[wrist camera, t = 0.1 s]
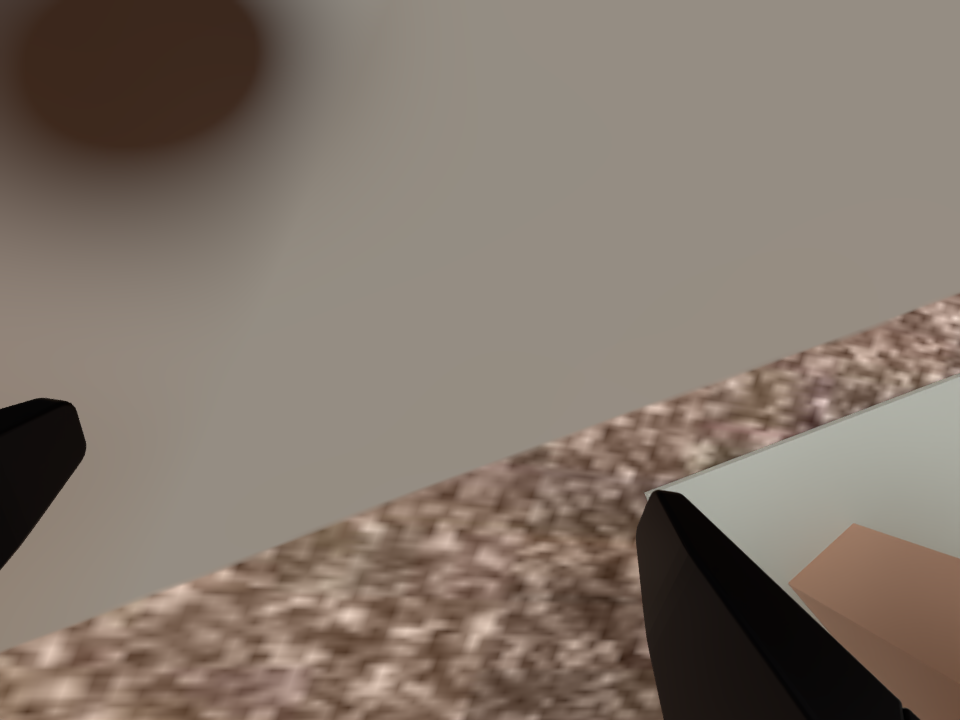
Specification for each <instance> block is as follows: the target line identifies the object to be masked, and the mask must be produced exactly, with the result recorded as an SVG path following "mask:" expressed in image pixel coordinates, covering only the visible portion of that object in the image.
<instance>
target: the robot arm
mask: <svg viewBox="0 0 960 720" xmlns="http://www.w3.org/2000/svg"><path fill="white" fill-rule="evenodd" d="M85 451H86V441H85V438H84V434H83V431H82V427H81V424H80V421H79V418H78V414H77V411H76V408H75V407H74V406H73V405H72V404H71V403H69V402H67V401H63V400H55V399H49V398H37V399H33V400H30V401H26V402H23V403H19V404H16V405H12V406H9V407H6V408H2V409H0V570H1V569H2V567H3V566H4V565H5V564H6V563H7V562H8V560H9V559H10V558H11V557H12V556H13V554H14V553H15V552H16V551H17V550H18V548H19V547H20V546H21V544H22V543H23V542H24V540H25V539H26V538H27V536H28V535H29V534H30V532H31V531H32V529H33V528H34V527H35V525H36V524H37V523H38V521H39V520H40V518H41V517H42V516H43V514H44V513H45V511H46V510H47V509H48V507H49V506H50V504H51V503H52V502H53V500H54V499H55V497H56V496H57V495H58V493H59V492H60V490H61V489H62V488H63V486H64V485H65V483H66V482H67V481H68V479H69V478H70V476H71V475H72V474H73V472H74V471H75V469H76V468H77V466H78V465H79V464H80V462H81V461H82V459H83V457H84V455H85ZM636 546H637V556H638V565H639V574H640V584H641V593H642V603H643V612H644V621H645V629H646V637H647V642H648V647H649V653H650V658H651V662H652V667H653V671H654V676H655V681H656V685H657V690H658V695H659V699H660V704H661V709H662V713H663V718H664V720H920V719H919V718H918V717H917V716H916V715H915V714H914V713H913V712H912V711H911V710H910V709H908V708H905V707H902V703H901V701H900V700H899V699H898V698H897V697H896V696H895V695H894V694H893V693H892V692H891V691H890V690H888V689H887V688H886V687H885V686H884V685H883V684H882V683H881V682H880V681H879V680H878V679H877V678H876V677H875V676H874V675H873V674H872V673H871V672H870V671H868V670H867V669H866V668H865V667H864V666H863V665H862V664H861V663H860V662H859V661H858V660H857V659H856V658H855V657H854V656H853V655H852V654H851V653H850V652H848V651H847V650H846V649H845V648H844V647H843V646H842V645H841V644H840V643H839V642H838V641H837V640H836V639H835V638H834V637H833V636H832V635H831V634H829V633H828V632H827V631H826V630H825V629H824V628H823V627H822V626H821V625H820V624H819V623H818V622H817V621H816V620H815V619H814V618H813V617H812V616H811V615H809V614H808V613H807V612H806V611H805V610H804V609H803V608H802V607H801V606H800V605H799V604H798V603H797V602H796V601H795V600H794V599H793V598H792V597H790V596H789V595H788V594H787V593H786V592H785V591H784V590H783V589H782V588H781V587H780V586H779V585H778V584H777V583H776V582H775V581H774V580H773V579H772V578H770V577H769V576H768V575H767V574H766V573H765V572H764V571H763V570H762V569H761V568H760V567H759V566H758V565H757V564H756V563H755V562H754V561H753V560H751V559H750V558H749V557H748V556H747V555H746V554H745V553H744V552H743V551H742V550H741V549H740V548H739V547H738V546H737V545H736V544H735V543H734V542H733V541H731V540H730V539H729V538H728V537H727V536H726V535H725V534H724V533H723V532H722V531H721V530H720V529H719V528H718V527H717V526H716V525H715V524H714V523H712V522H711V521H710V520H709V519H708V518H707V517H706V516H705V515H704V514H703V513H702V512H701V511H700V510H699V509H698V508H697V507H696V506H695V505H694V504H692V503H691V502H690V501H689V500H688V499H687V498H686V497H685V496H684V495H683V494H681V493H678V492H672V491H666V490H655V491H653V492H652V493H651V495H650V497H649V499H648V502H647V504H646V507H645V509H644V512H643V514H642V516H641V519H640V521H639V524H638V527H637V531H636Z"/></svg>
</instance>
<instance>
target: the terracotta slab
mask: <svg viewBox="0 0 960 720" xmlns="http://www.w3.org/2000/svg"><path fill="white" fill-rule="evenodd" d="M788 584H789V585H790V587H791V588H792V589H793V590H794V591H795V592H796V594H797V595H798V596H799V597H800V598H801V600H802V601H803V602H804V603H805V604H806V606H807V607H808V608H809V609H810V610H811V611H812V613H813V614H814V615H815V616H816V617H817V619H818V620H819V621H820V622H821V623H822V625H823V626H824V627H825V628H826V629H827V630H828V632H829V633H830V634H831V635H832V636H833V637H834V638H835V639H836V640H837V641H838V642H839V643H840V644H841V645H842V646H843V647H844V648H845V649H846V650H847V651H848V652H850V653H851V654H852V655H853V656H854V657H855V658H856V659H857V660H858V661H859V662H860V663H861V664H862V665H863V666H864V667H865V668H866V669H867V670H868V671H870V672H871V673H872V674H873V675H874V676H875V677H876V678H877V679H878V680H879V681H880V682H881V683H882V684H883V685H884V686H885V687H886V688H887V689H888V690H890V691H891V692H892V693H893V694H894V695H895V696H896V697H897V698H898V699H899V700H900V701H901V703H902V707H905V708H908V709H910V710H911V711H912V712H913V713H914V714H915V715H916V716H917V717H918V718H919V719H920V720H960V559H959V558H956V557H953V556H950V555H947V554H944V553H941V552H938V551H935V550H932V549H929V548H926V547H923V546H920V545H918V544H915V543H912V542H909V541H906V540H903V539H900V538H897V537H894V536H891V535H888V534H885V533H882V532H879V531H876V530H873V529H870V528H867V527H864V526H861V525H858V524H855V523H853V524H852V525H851V526H850V527H849V528H848V529H846V530H845V531H844V532H843V533H842V534H841V535H840V536H839V537H838V538H837V539H836V540H834V541H833V542H832V543H831V544H830V545H829V546H828V547H827V548H826V549H825V550H824V551H822V552H821V553H820V554H819V555H818V556H817V557H816V558H815V559H814V560H813V561H812V562H810V563H809V564H808V565H807V566H806V567H805V568H804V569H803V570H802V571H801V572H800V573H798V574H797V575H796V576H795V577H794V578H793V579H792V580H791V581H790V582H789V583H788Z"/></svg>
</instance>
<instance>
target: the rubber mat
mask: <svg viewBox="0 0 960 720" xmlns="http://www.w3.org/2000/svg"><path fill="white" fill-rule="evenodd" d="M655 490H666V491H672V492H678V493H681V494H683V495H684V496H685V497H686V498H687V499H688V500H689V501H690V502H691V503H692V504H694V505H695V506H696V507H697V508H698V509H699V510H700V511H701V512H702V513H703V514H704V515H705V516H706V517H707V518H708V519H709V520H710V521H711V522H712V523H714V524H715V525H716V526H717V527H718V528H719V529H720V530H721V531H722V532H723V533H724V534H725V535H726V536H727V537H728V538H729V539H730V540H731V541H733V542H734V543H735V544H736V545H737V546H738V547H739V548H740V549H741V550H742V551H743V552H744V553H745V554H746V555H747V556H748V557H749V558H750V559H751V560H753V561H754V562H755V563H756V564H757V565H758V566H759V567H760V568H761V569H762V570H763V571H764V572H765V573H766V574H767V575H768V576H769V577H770V578H772V579H773V580H774V581H775V582H776V583H777V584H778V585H779V586H780V587H781V588H782V589H783V590H784V591H785V592H786V593H787V594H788V595H789V596H790V597H792V598H793V599H794V600H795V601H796V602H797V603H798V604H799V605H800V606H801V607H802V608H803V609H804V610H805V611H806V612H807V613H808V614H809V615H811V616H812V617H813V618H814V619H815V620H816V621H817V622H818V623H819V624H820V625H821V626H822V627H823V628H824V629H825V630H826V631H827V632H828V630H827V629H826V628H825V627H824V626H823V625H822V623H821V622H820V621H819V620H818V619H817V617H816V616H815V615H814V614H813V613H812V611H811V610H810V609H809V608H808V607H807V606H806V604H805V603H804V602H803V601H802V600H801V598H800V597H799V596H798V595H797V594H796V592H795V591H794V590H793V589H792V588H791V587H790V585H789V584H788V583H789V582H790V581H791V580H792V579H793V578H794V577H795V576H796V575H797V574H798V573H800V572H801V571H802V570H803V569H804V568H805V567H806V566H807V565H808V564H809V563H810V562H812V561H813V560H814V559H815V558H816V557H817V556H818V555H819V554H820V553H821V552H822V551H824V550H825V549H826V548H827V547H828V546H829V545H830V544H831V543H832V542H833V541H834V540H836V539H837V538H838V537H839V536H840V535H841V534H842V533H843V532H844V531H845V530H846V529H848V528H849V527H850V526H851V525H852V524H853V523H855V524H858V525H861V526H864V527H867V528H870V529H873V530H876V531H879V532H882V533H885V534H888V535H891V536H894V537H897V538H900V539H903V540H906V541H909V542H912V543H915V544H918V545H920V546H923V547H926V548H929V549H932V550H935V551H938V552H941V553H944V554H947V555H950V556H953V557H956V558H959V559H960V373H958V374H956V375H953V376H951V377H948V378H945V379H943V380H940V381H937V382H935V383H932V384H929V385H927V386H924V387H922V388H919V389H916V390H914V391H911V392H908V393H906V394H903V395H900V396H898V397H895V398H893V399H890V400H887V401H885V402H882V403H879V404H877V405H874V406H871V407H869V408H866V409H864V410H861V411H858V412H856V413H853V414H850V415H848V416H845V417H842V418H840V419H837V420H835V421H832V422H829V423H827V424H824V425H821V426H819V427H816V428H813V429H811V430H808V431H806V432H803V433H800V434H798V435H795V436H792V437H790V438H787V439H784V440H782V441H779V442H777V443H774V444H771V445H769V446H766V447H763V448H761V449H758V450H755V451H753V452H750V453H748V454H745V455H742V456H740V457H737V458H734V459H732V460H729V461H726V462H724V463H721V464H719V465H716V466H713V467H711V468H708V469H705V470H703V471H700V472H697V473H695V474H692V475H690V476H687V477H684V478H682V479H679V480H676V481H674V482H671V483H668V484H666V485H663V486H661V487H658V488H655V489H653V490H650V491H647V492H645V495H646V498H647V501H648V499H649V497H650V495H651V493H652V492H653V491H655ZM828 633H829V632H828ZM829 634H830V633H829Z"/></svg>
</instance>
